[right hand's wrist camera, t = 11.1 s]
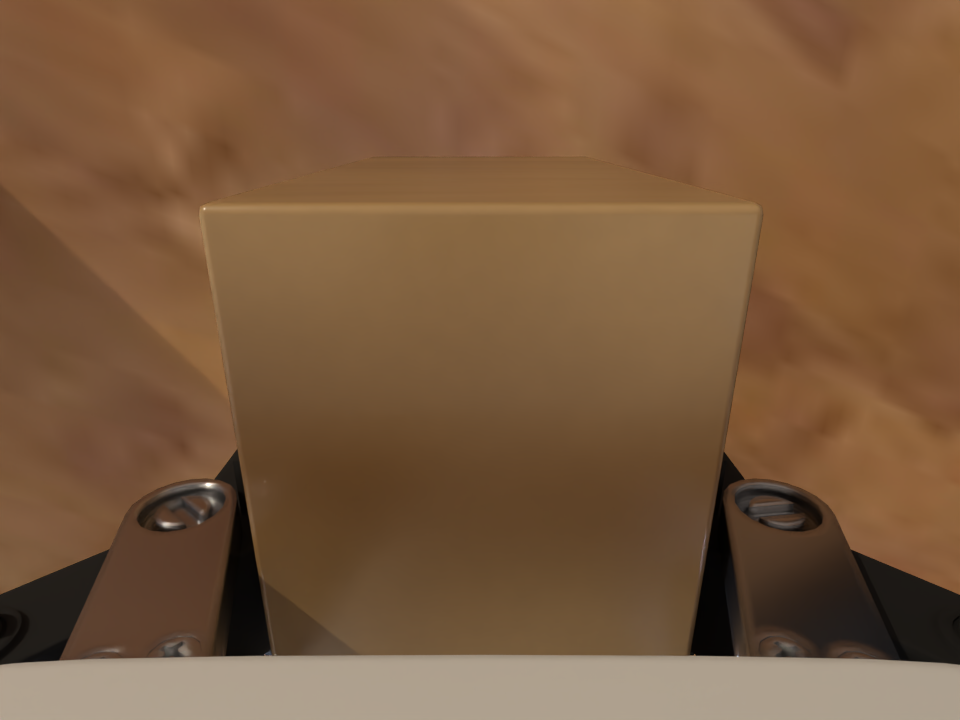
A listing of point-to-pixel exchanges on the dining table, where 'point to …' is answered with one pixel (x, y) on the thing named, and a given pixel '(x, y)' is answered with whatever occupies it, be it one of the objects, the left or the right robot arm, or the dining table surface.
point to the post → (480, 400)
